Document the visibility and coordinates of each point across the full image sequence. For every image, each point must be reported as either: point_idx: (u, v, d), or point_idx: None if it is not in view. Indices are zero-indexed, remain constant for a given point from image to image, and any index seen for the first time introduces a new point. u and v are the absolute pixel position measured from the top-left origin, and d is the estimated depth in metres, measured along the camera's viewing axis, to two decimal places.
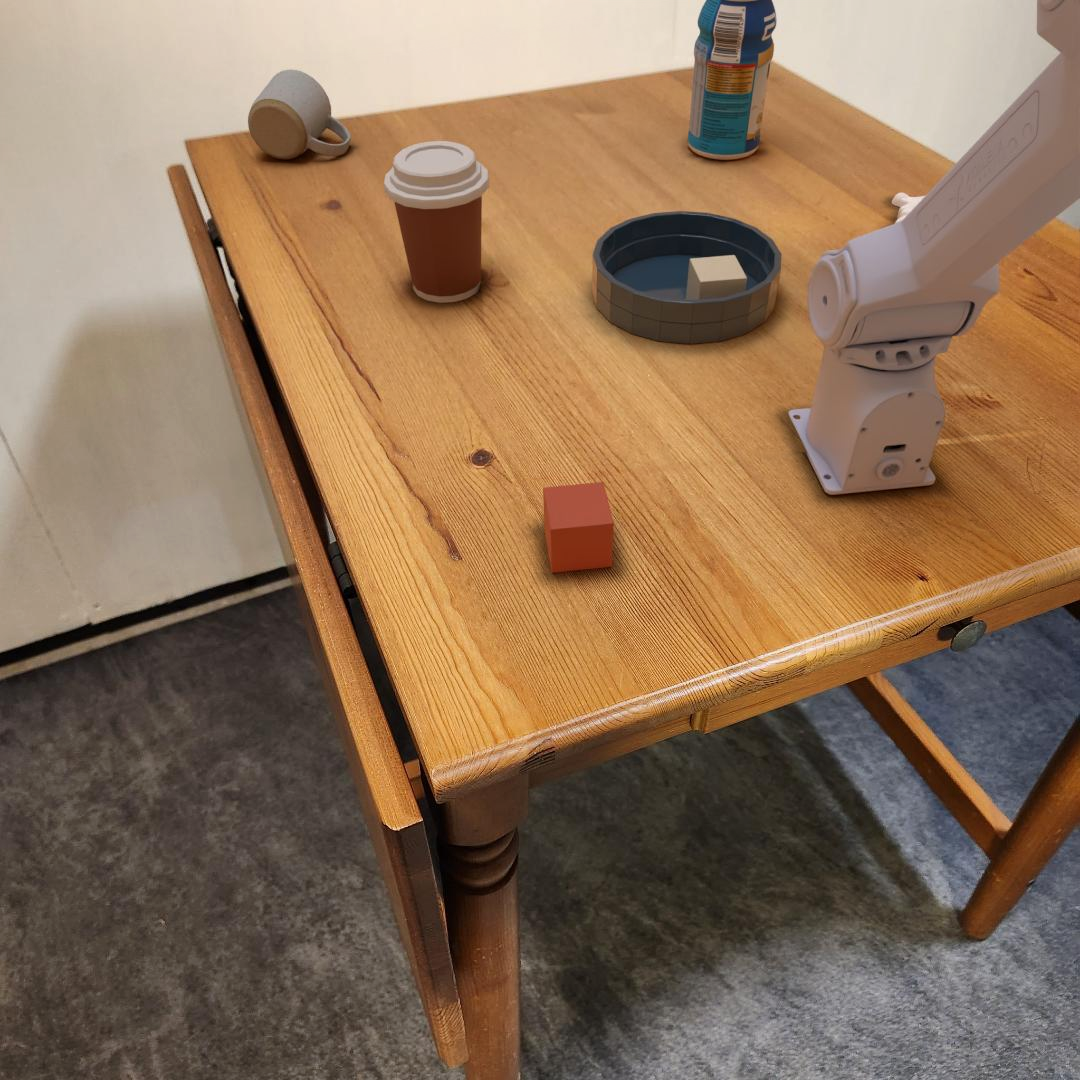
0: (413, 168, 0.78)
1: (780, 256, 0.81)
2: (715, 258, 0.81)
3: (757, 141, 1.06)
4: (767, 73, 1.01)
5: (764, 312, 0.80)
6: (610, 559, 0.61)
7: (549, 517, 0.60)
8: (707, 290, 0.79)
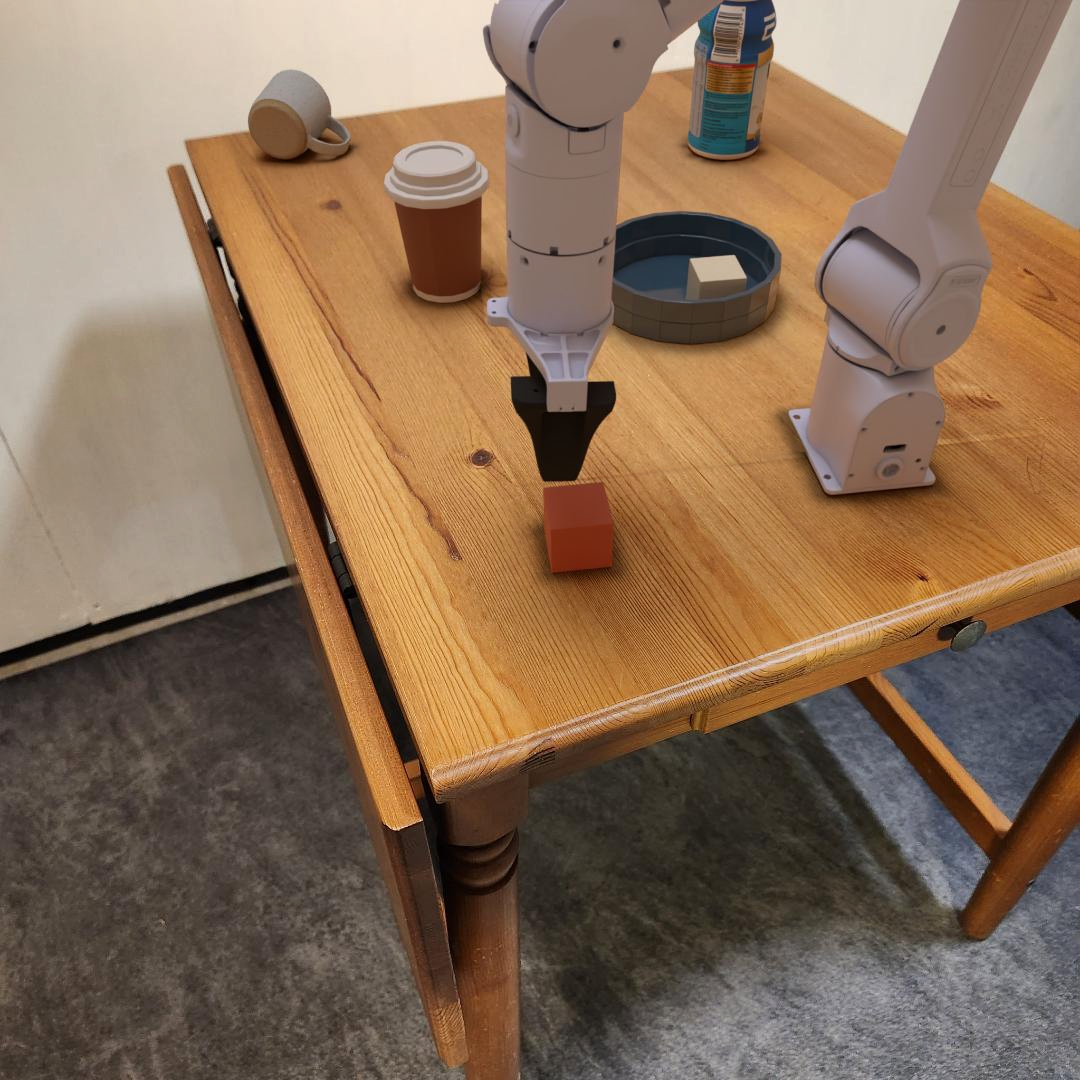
0: (413, 168, 0.78)
1: (780, 256, 0.81)
2: (715, 258, 0.81)
3: (757, 141, 1.06)
4: (767, 73, 1.01)
5: (764, 312, 0.80)
6: (610, 559, 0.61)
7: (549, 517, 0.60)
8: (707, 290, 0.79)
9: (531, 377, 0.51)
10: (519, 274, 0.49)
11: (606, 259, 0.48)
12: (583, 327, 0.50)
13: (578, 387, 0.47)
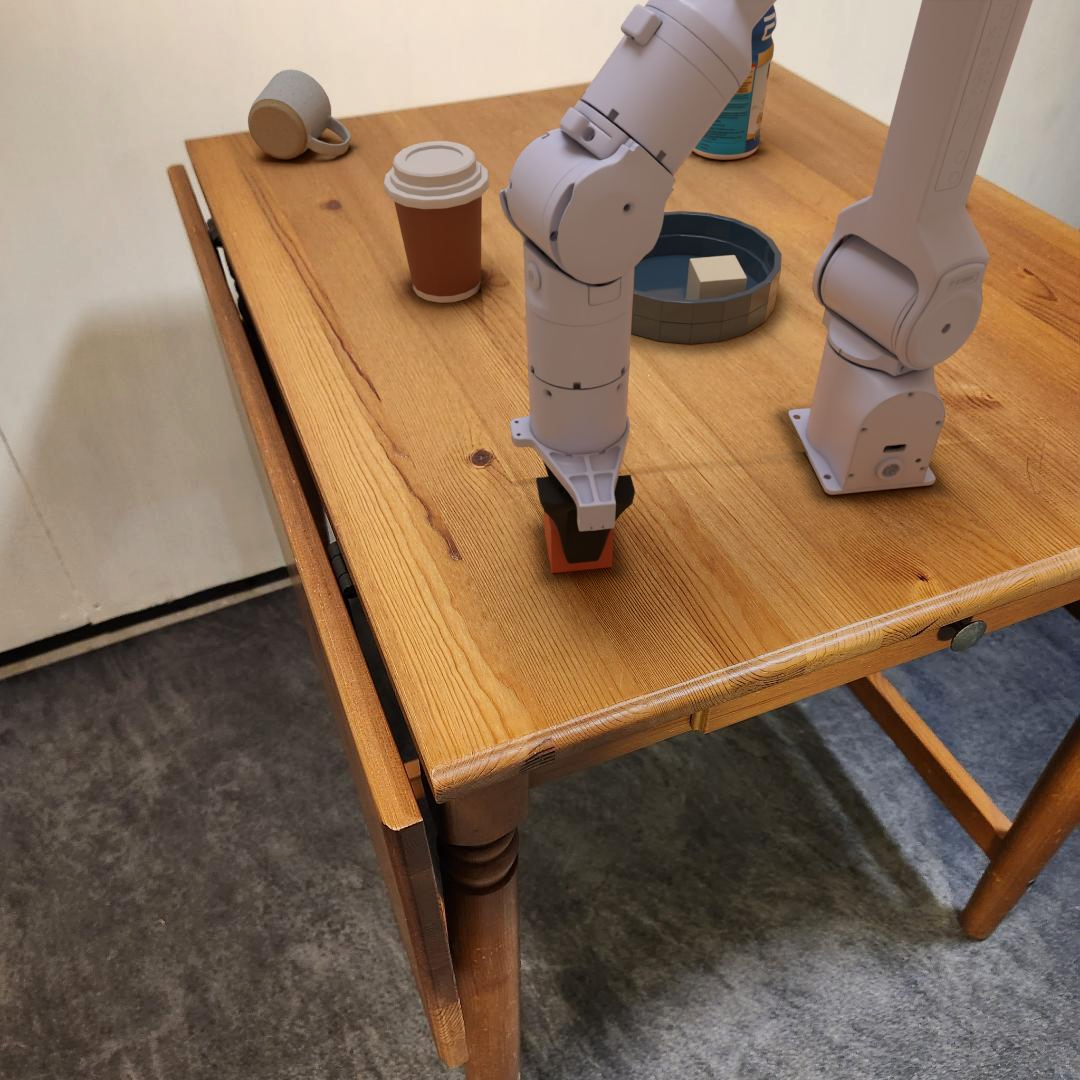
0: (413, 168, 0.78)
1: (780, 256, 0.81)
2: (715, 258, 0.81)
3: (757, 141, 1.06)
4: (767, 73, 1.01)
5: (764, 312, 0.80)
6: (610, 559, 0.61)
7: (549, 517, 0.60)
8: (707, 290, 0.79)
9: (555, 477, 0.55)
10: (542, 404, 0.52)
11: (623, 385, 0.52)
12: (604, 445, 0.54)
13: (607, 509, 0.51)
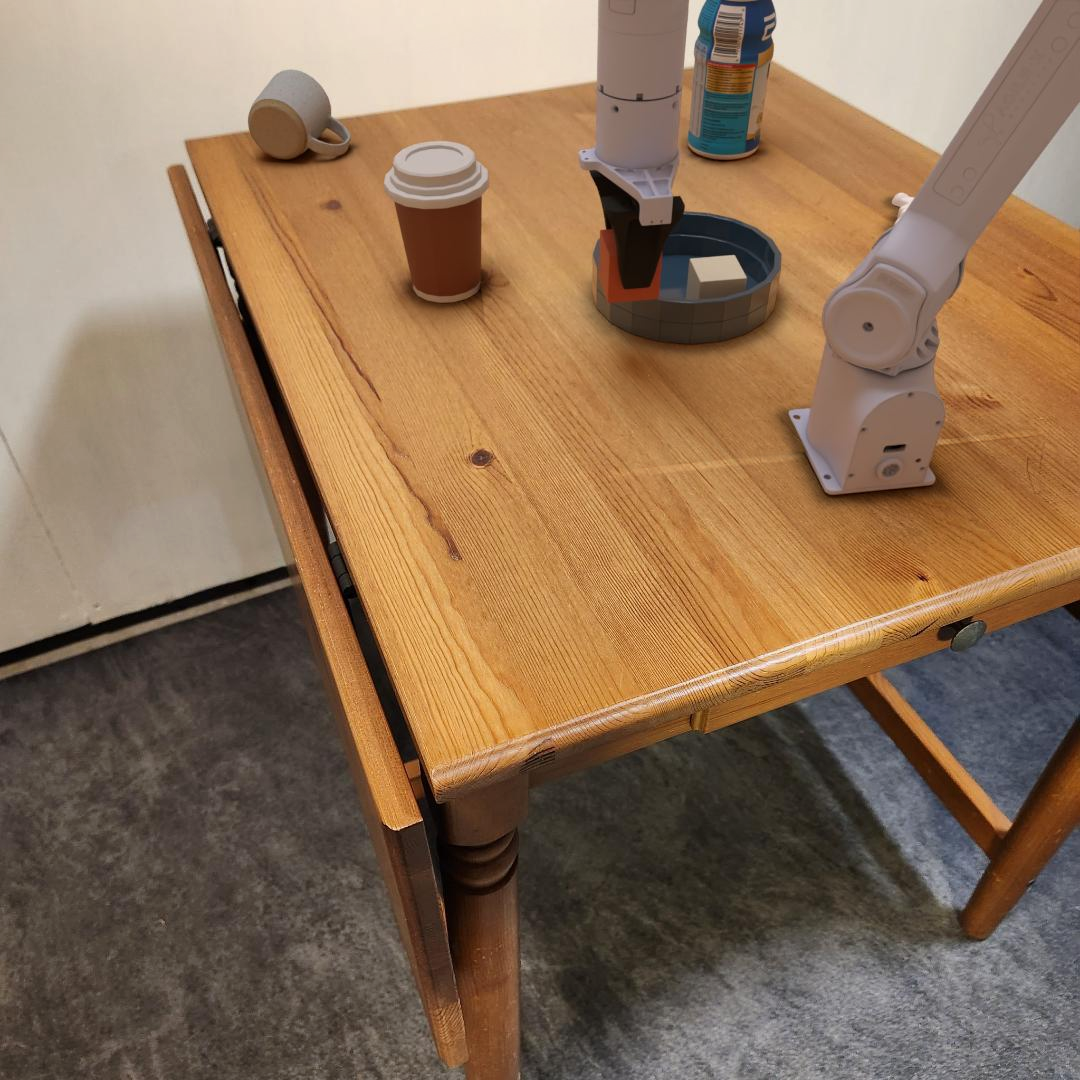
0: (413, 168, 0.78)
1: (780, 256, 0.81)
2: (715, 258, 0.81)
3: (757, 141, 1.06)
4: (767, 73, 1.01)
5: (764, 312, 0.80)
6: (658, 290, 0.72)
7: (607, 247, 0.70)
8: (707, 290, 0.79)
9: (617, 196, 0.66)
10: (610, 121, 0.63)
11: (677, 104, 0.62)
12: (660, 162, 0.64)
13: (666, 202, 0.61)
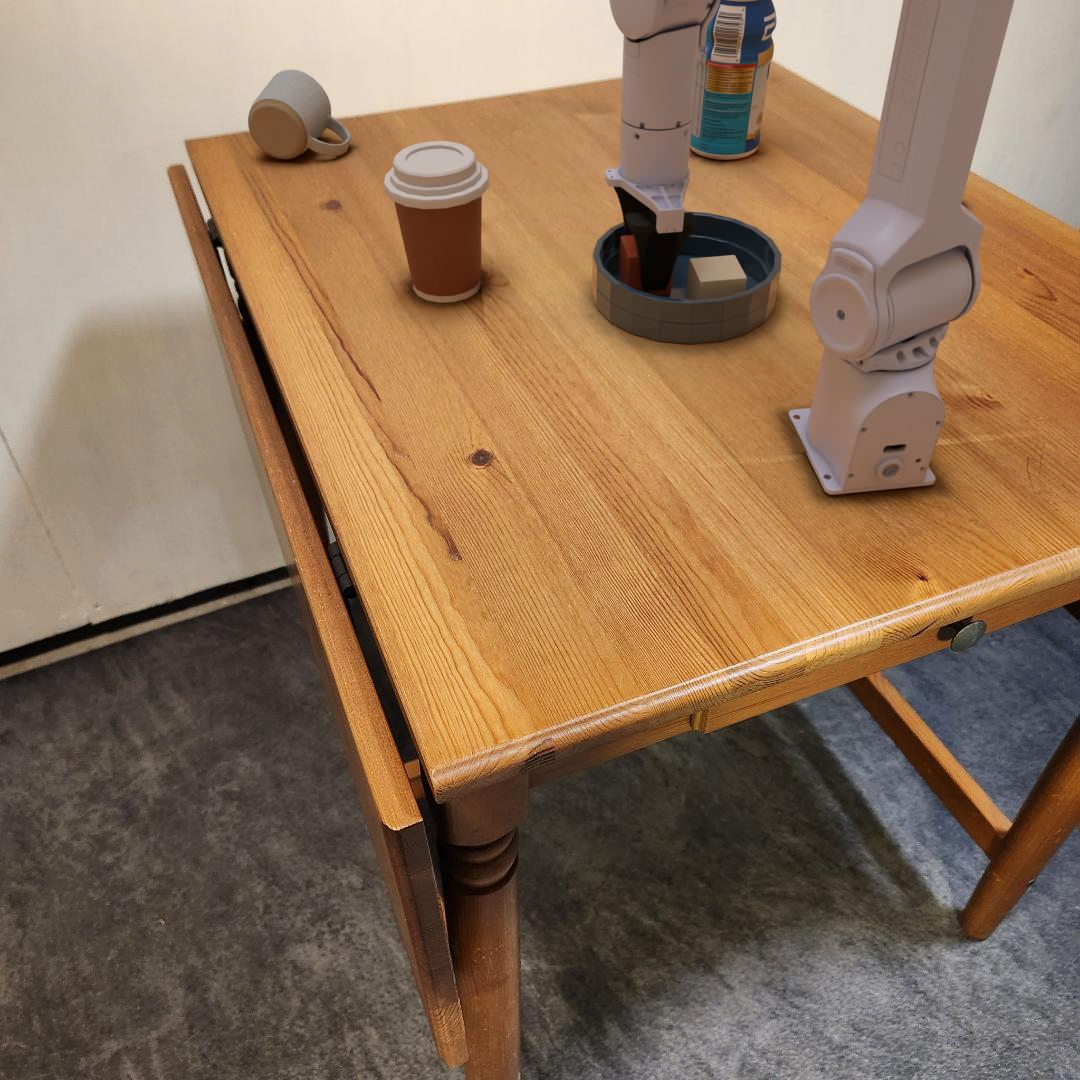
0: (413, 168, 0.78)
1: (780, 256, 0.81)
2: (715, 258, 0.81)
3: (757, 141, 1.06)
4: (767, 73, 1.01)
5: (764, 312, 0.80)
6: (670, 287, 0.84)
7: (627, 251, 0.82)
8: (707, 290, 0.79)
9: (639, 212, 0.78)
10: (632, 146, 0.75)
11: (688, 132, 0.75)
12: (673, 180, 0.77)
13: (678, 214, 0.74)
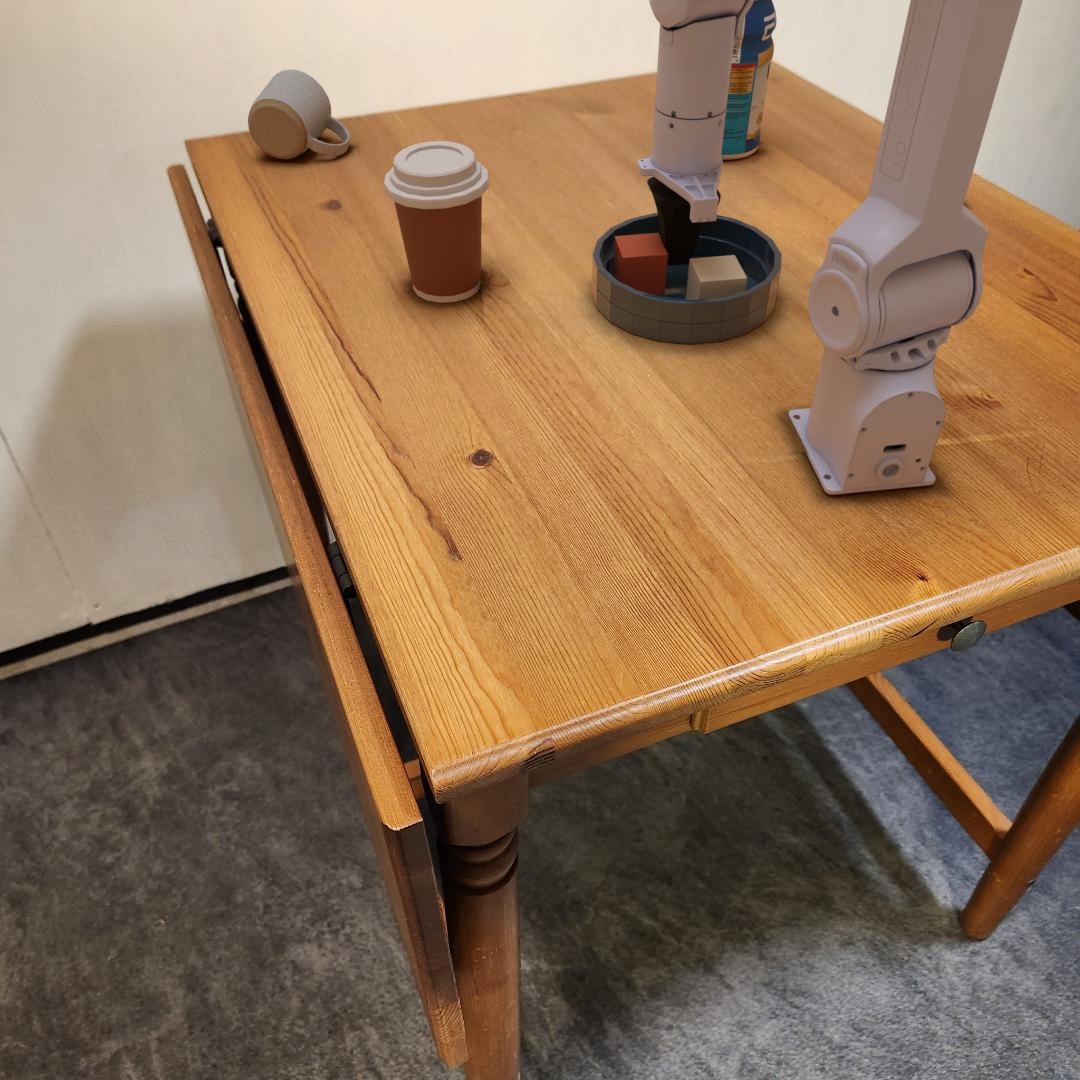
0: (413, 168, 0.78)
1: (780, 256, 0.81)
2: (715, 258, 0.81)
3: (757, 141, 1.06)
4: (767, 73, 1.01)
5: (764, 312, 0.80)
6: (664, 287, 0.84)
7: (621, 251, 0.82)
8: (707, 290, 0.79)
9: (665, 187, 0.80)
10: (666, 135, 0.75)
11: (722, 122, 0.75)
12: (706, 170, 0.77)
13: (712, 203, 0.74)
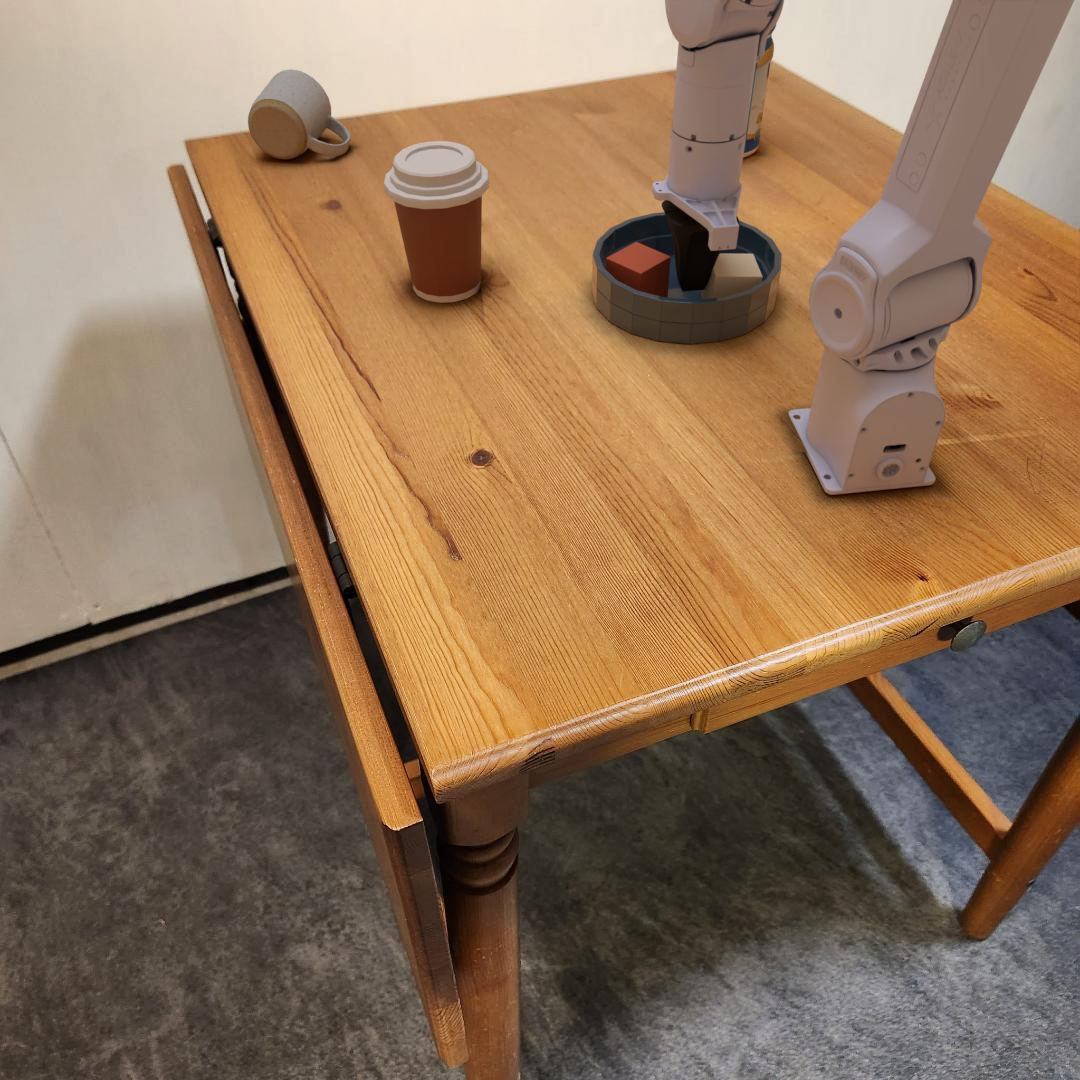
0: (413, 168, 0.78)
1: (780, 256, 0.81)
2: (733, 255, 0.81)
3: (757, 141, 1.06)
4: (767, 73, 1.01)
5: (764, 312, 0.80)
6: None
7: (615, 253, 0.82)
8: (722, 285, 0.79)
9: (681, 212, 0.76)
10: (683, 159, 0.72)
11: (742, 145, 0.72)
12: (725, 195, 0.73)
13: (733, 231, 0.71)
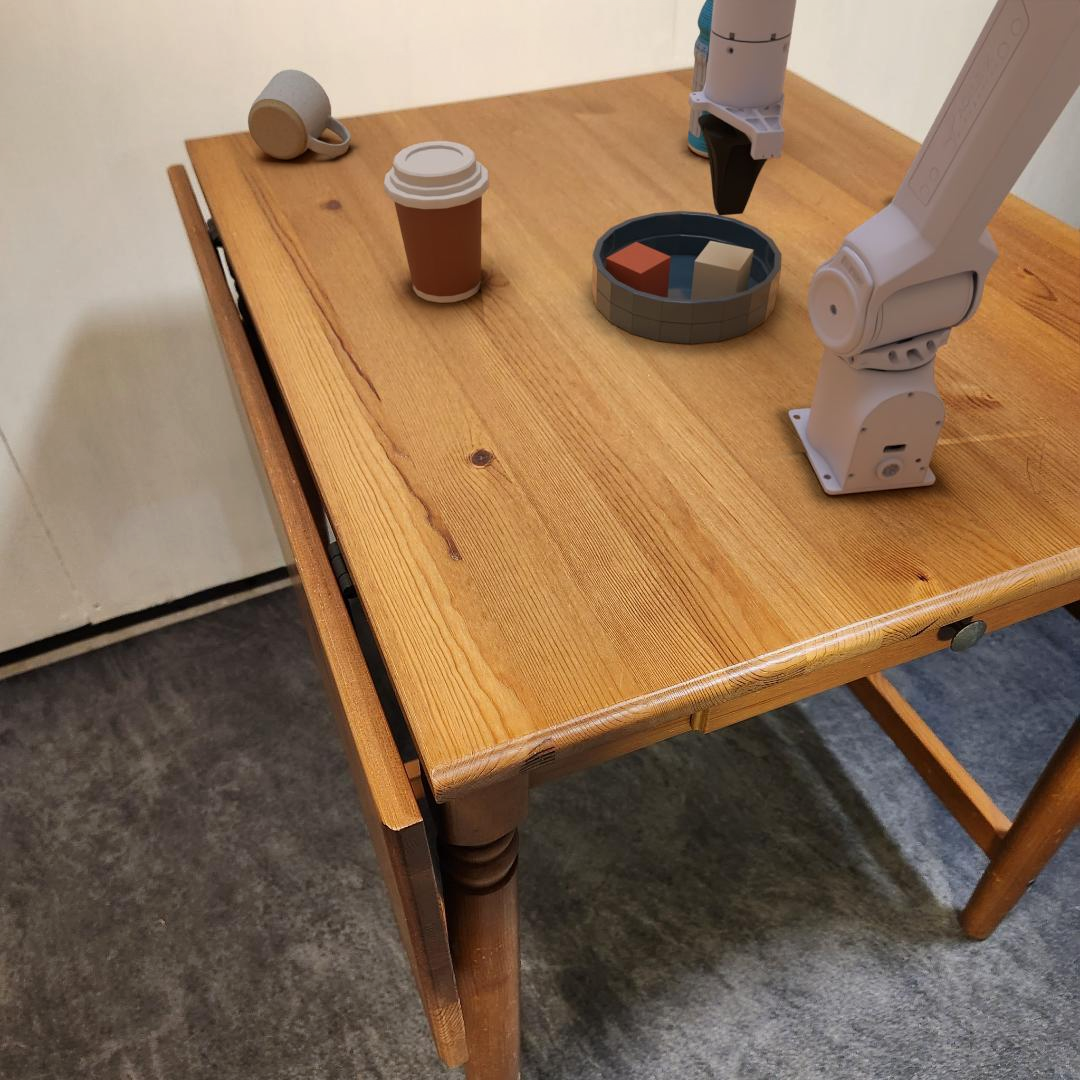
0: (413, 168, 0.78)
1: (780, 256, 0.81)
2: (732, 247, 0.83)
3: None
4: None
5: (764, 312, 0.80)
6: None
7: (615, 253, 0.82)
8: (701, 271, 0.81)
9: (719, 125, 0.72)
10: (724, 62, 0.67)
11: (787, 47, 0.67)
12: (768, 102, 0.69)
13: (778, 136, 0.66)
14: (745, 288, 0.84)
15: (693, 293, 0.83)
